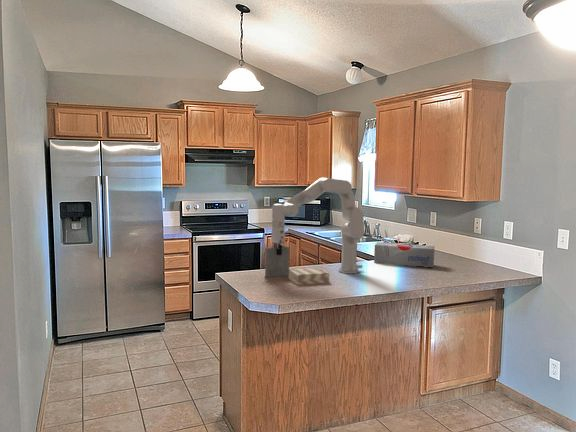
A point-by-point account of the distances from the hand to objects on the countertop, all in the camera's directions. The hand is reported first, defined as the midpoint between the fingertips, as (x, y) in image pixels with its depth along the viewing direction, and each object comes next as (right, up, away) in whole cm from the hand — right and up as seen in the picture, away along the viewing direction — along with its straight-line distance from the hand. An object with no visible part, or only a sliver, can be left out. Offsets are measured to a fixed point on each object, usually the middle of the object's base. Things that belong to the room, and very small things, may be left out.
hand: (277, 254), depth 287 cm
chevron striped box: (+19, -15, -9) cm, 26 cm away
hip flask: (0, -13, +2) cm, 13 cm away
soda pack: (+88, -11, +47) cm, 100 cm away
